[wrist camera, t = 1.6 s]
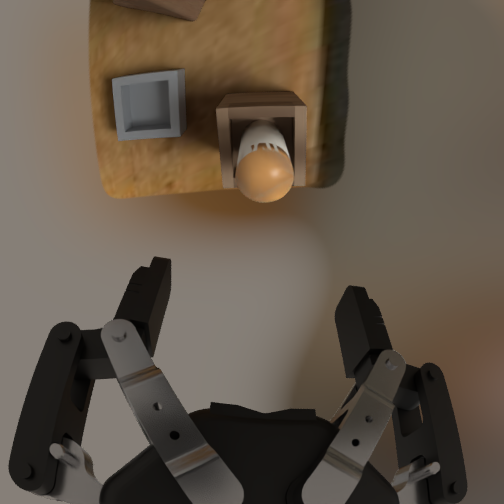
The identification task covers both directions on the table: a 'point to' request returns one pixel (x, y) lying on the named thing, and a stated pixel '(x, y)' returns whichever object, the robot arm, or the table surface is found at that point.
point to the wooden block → (166, 7)
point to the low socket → (150, 104)
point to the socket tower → (261, 108)
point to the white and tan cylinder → (263, 163)
